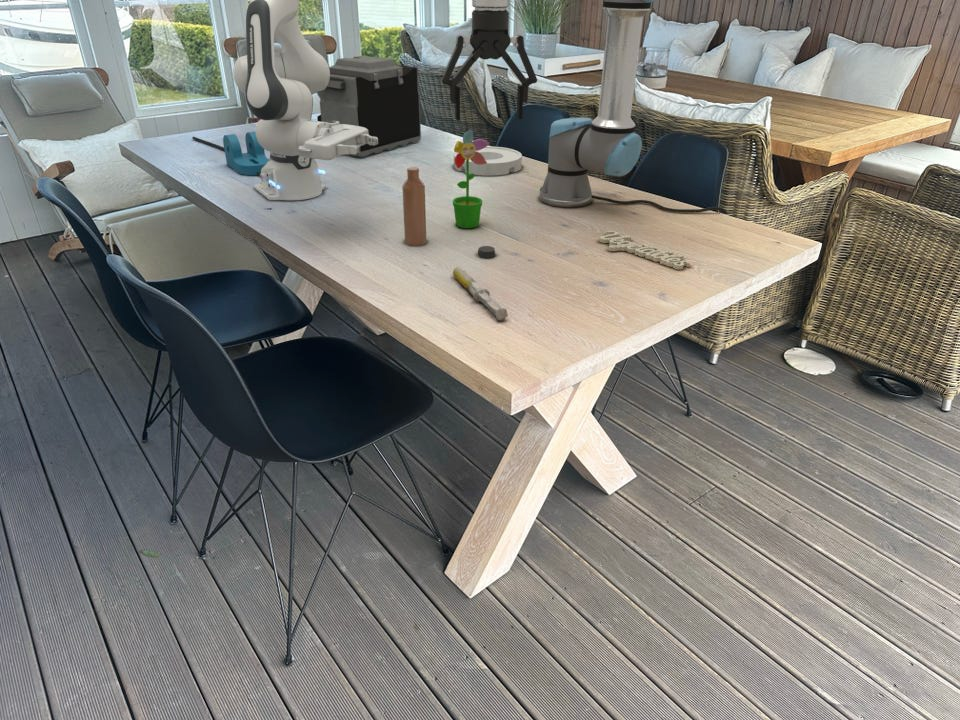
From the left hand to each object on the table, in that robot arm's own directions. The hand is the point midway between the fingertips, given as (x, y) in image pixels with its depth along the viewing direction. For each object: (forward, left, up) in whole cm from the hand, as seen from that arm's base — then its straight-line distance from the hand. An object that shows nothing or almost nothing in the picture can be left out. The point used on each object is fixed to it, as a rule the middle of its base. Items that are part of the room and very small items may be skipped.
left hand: (367, 145), depth 164 cm
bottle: (+11, +5, -23) cm, 26 cm away
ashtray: (-27, +69, -23) cm, 78 cm away
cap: (+29, +12, -21) cm, 38 cm away
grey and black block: (-78, +58, -23) cm, 99 cm away
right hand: (+29, +12, +9) cm, 33 cm away
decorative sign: (+53, +40, -23) cm, 71 cm away
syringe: (+45, -6, -23) cm, 50 cm away
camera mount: (-79, +9, -23) cm, 83 cm away
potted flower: (+11, +23, -23) cm, 34 cm away
